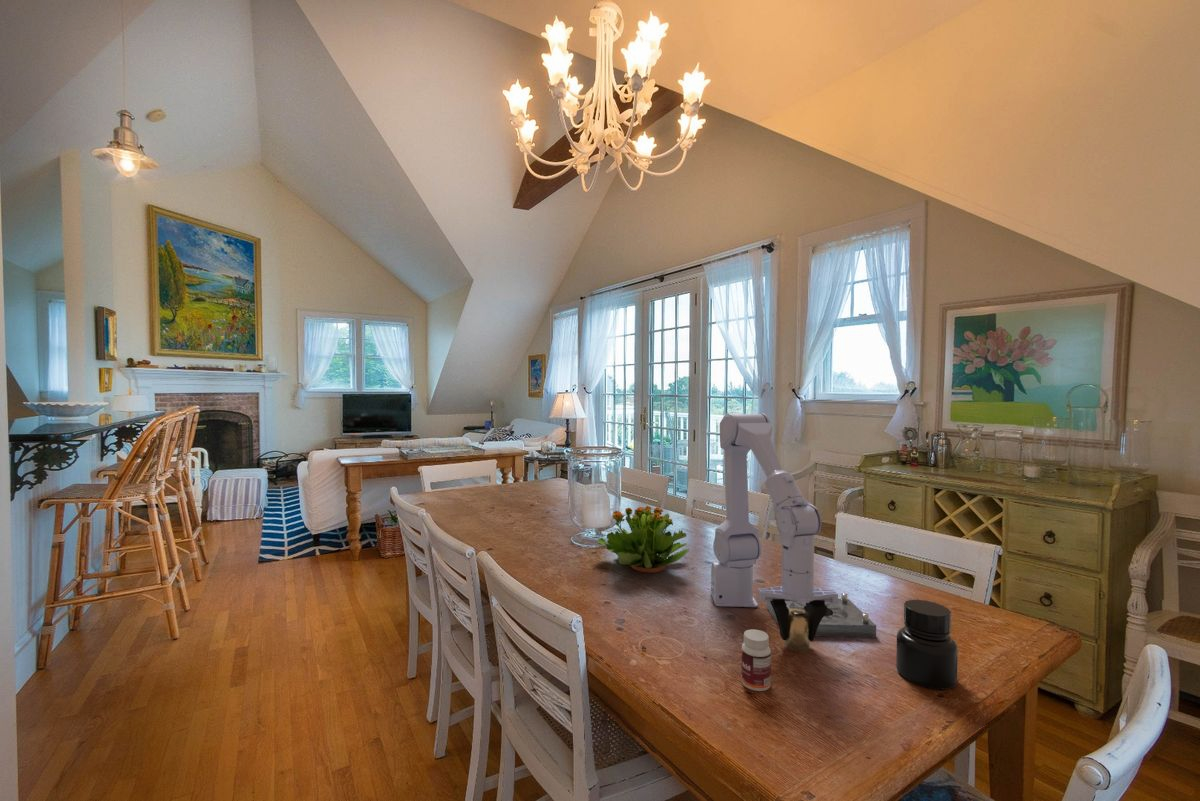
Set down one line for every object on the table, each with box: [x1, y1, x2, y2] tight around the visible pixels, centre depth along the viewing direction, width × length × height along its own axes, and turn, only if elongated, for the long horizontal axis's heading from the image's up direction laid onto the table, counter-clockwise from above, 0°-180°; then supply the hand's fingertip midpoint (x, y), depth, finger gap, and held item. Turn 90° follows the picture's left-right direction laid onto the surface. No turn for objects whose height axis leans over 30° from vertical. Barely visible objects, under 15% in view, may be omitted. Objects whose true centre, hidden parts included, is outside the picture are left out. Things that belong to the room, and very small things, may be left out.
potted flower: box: [597, 505, 690, 574], centre depth 142 cm, size 25×24×18 cm
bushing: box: [784, 608, 810, 653], centre depth 99 cm, size 4×4×7 cm
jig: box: [766, 592, 877, 639], centre depth 109 cm, size 18×13×4 cm
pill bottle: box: [740, 628, 772, 692], centre depth 86 cm, size 5×5×8 cm
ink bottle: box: [895, 599, 959, 690], centre depth 88 cm, size 10×9×12 cm
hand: (796, 638), depth 99 cm, fingers closed on bushing, 4 cm apart
